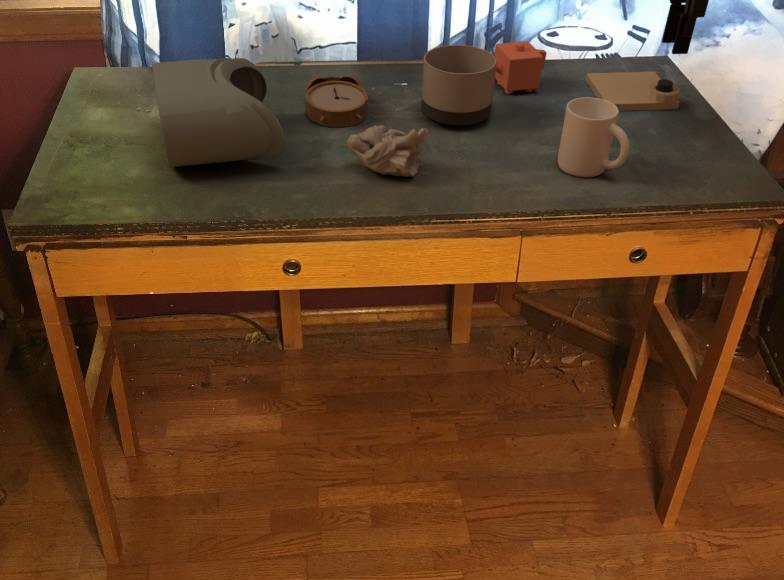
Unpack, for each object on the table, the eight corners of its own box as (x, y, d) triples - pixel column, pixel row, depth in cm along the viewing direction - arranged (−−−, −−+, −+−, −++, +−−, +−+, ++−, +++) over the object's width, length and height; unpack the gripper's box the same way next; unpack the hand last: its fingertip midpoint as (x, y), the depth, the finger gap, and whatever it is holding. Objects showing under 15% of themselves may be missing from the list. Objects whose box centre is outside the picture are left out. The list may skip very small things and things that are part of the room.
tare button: (673, 93, 161) (675, 85, 160) (659, 93, 160) (661, 85, 159) (668, 87, 163) (670, 79, 162) (654, 87, 162) (656, 79, 161)
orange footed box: (476, 81, 169) (480, 39, 164) (533, 75, 172) (538, 33, 166) (490, 98, 164) (494, 54, 158) (548, 92, 166) (554, 49, 160)
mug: (634, 175, 143) (648, 116, 136) (606, 192, 139) (619, 133, 132) (575, 150, 149) (586, 92, 142) (546, 166, 145) (556, 107, 138)
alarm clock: (309, 114, 151) (300, 65, 159) (310, 138, 154) (300, 89, 163) (372, 111, 152) (359, 62, 161) (371, 134, 156) (359, 86, 165)
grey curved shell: (162, 123, 154) (150, 51, 145) (267, 113, 157) (262, 42, 148) (171, 184, 138) (158, 107, 129) (287, 171, 142) (283, 96, 133)
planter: (498, 129, 154) (504, 72, 147) (428, 133, 153) (431, 75, 145) (481, 98, 163) (486, 43, 156) (415, 102, 162) (417, 46, 155)
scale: (680, 110, 162) (684, 94, 159) (606, 112, 160) (609, 96, 158) (654, 78, 172) (658, 63, 170) (585, 80, 171) (587, 65, 168)
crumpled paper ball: (427, 125, 134) (366, 91, 137) (394, 182, 136) (335, 147, 139) (441, 139, 142) (383, 107, 145) (410, 194, 143) (354, 160, 147)
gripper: (669, -111, 146) (638, 29, 162) (708, -81, 133) (671, 67, 149) (711, -111, 147) (677, 29, 163) (754, -82, 134) (712, 66, 150)
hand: (674, 47), depth 156 cm, fingers open, 4 cm apart
